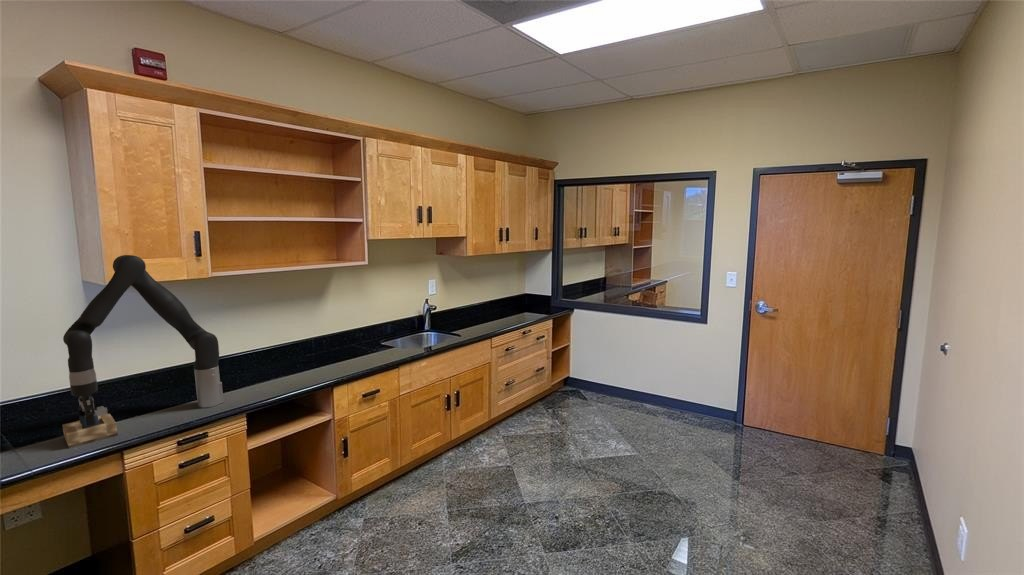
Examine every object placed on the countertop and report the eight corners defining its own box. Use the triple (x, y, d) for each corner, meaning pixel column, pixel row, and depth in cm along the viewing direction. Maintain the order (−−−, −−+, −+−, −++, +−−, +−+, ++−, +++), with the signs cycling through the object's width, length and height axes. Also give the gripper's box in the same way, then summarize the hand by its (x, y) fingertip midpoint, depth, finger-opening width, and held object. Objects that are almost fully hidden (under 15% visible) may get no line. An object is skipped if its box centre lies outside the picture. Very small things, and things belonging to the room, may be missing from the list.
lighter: (106, 416, 202) (103, 398, 201) (108, 417, 201) (105, 399, 200) (85, 423, 196) (82, 404, 194) (87, 423, 195) (84, 405, 194)
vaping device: (81, 435, 182) (77, 405, 180) (99, 431, 186) (95, 401, 184) (82, 437, 180) (77, 407, 178) (100, 433, 184) (96, 403, 182)
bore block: (111, 425, 193) (109, 413, 192) (117, 435, 184) (116, 423, 183) (64, 437, 183) (62, 424, 182) (68, 448, 174) (66, 435, 173)
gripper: (99, 382, 178) (105, 423, 181) (93, 374, 188) (98, 414, 190) (72, 388, 173) (78, 430, 175) (67, 379, 182) (73, 420, 185)
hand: (89, 421), depth 183 cm, fingers open, 8 cm apart
